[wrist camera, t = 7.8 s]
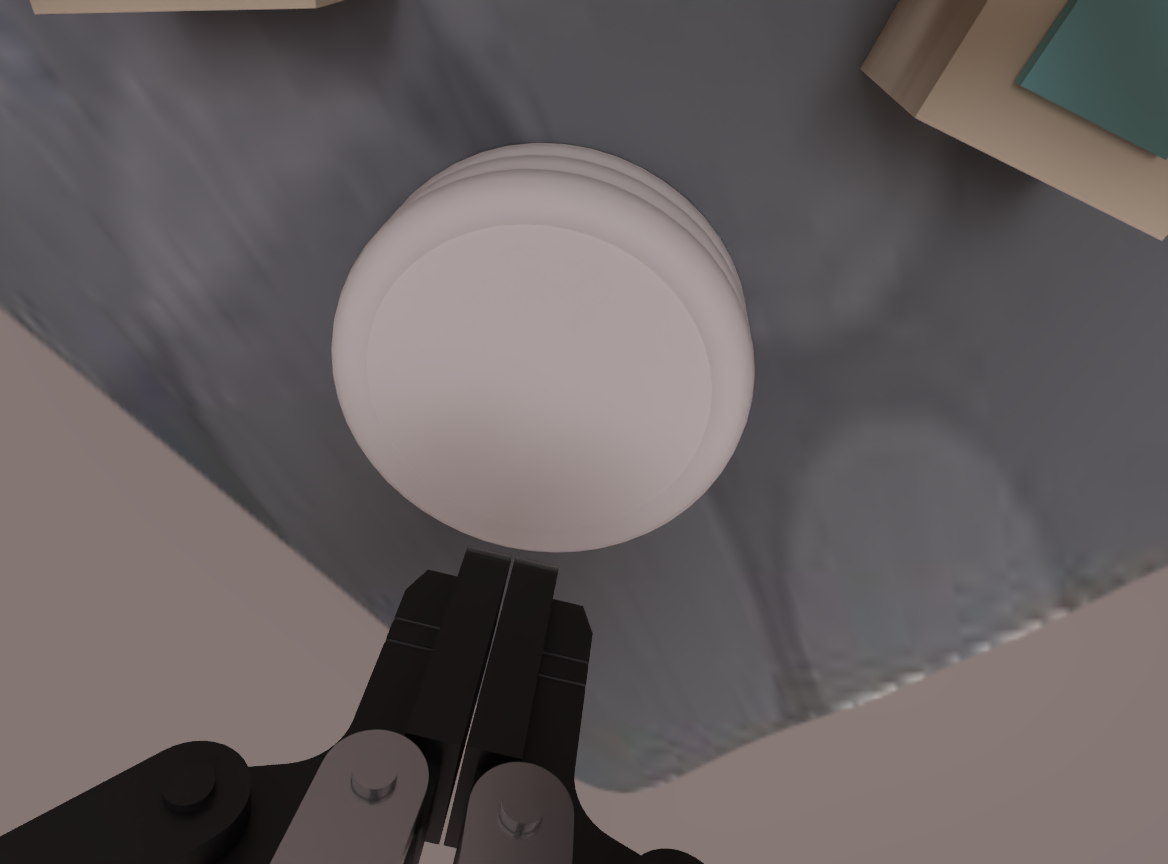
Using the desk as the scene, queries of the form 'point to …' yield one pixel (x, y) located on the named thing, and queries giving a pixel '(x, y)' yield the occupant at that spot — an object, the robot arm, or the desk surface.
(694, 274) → the white round container
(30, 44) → the desk surface
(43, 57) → the desk surface
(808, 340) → the desk surface
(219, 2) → the marked block
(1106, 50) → the marked block
